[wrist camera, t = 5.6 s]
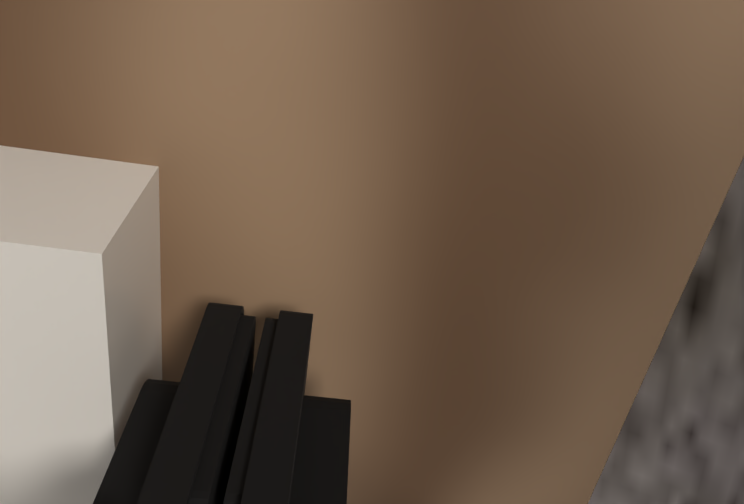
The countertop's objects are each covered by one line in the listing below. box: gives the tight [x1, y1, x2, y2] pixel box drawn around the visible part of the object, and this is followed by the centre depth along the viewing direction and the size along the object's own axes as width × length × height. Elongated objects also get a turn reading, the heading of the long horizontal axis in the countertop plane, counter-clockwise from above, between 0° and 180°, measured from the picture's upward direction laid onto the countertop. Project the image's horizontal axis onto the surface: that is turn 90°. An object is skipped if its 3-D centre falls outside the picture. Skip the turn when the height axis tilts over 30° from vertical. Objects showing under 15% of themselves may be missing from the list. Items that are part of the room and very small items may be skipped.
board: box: [0, 0, 744, 504], centre depth 14 cm, size 20×14×4 cm
